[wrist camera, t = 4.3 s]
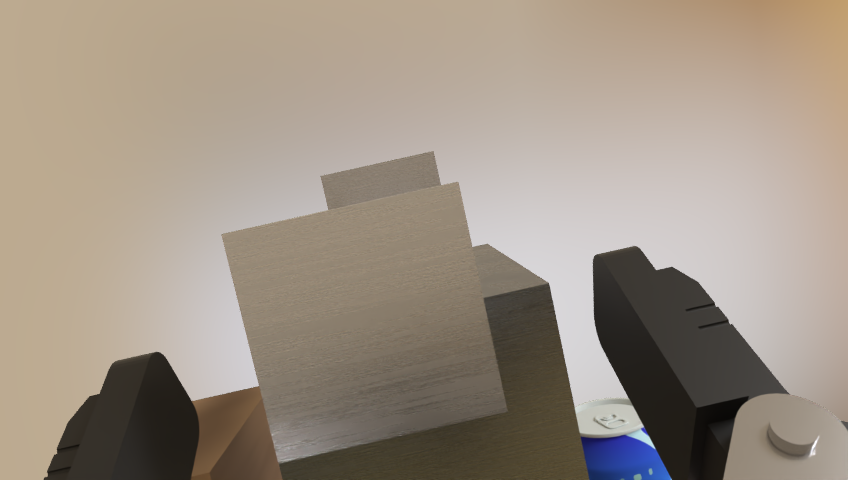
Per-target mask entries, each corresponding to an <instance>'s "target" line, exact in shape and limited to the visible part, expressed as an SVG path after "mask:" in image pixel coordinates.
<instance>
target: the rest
mask: <svg viewBox="0 0 848 480" xmlns="http://www.w3.org/2000/svg"><path fill="white" fill-rule="evenodd" d="M192 403H193V404H194V406H195V409H196V412H197V415H198V420H199V442H198V447H197V451H196V456H195V461H194V466H193V471H192V476H191V480H283V479H282V475H281V471H280V467H279V463H278V460H277V456H276V452H275V448H274V444H273V440H272V436H271V431H270V427H269V423H268V419H267V415H266V411H265V407H264V403H263V399H262V395H261V391H260V387H259V386H258V387H253V388H249V389H244V390H240V391H236V392H231V393H227V394H222V395H218V396H213V397H209V398H204V399H200V400H196V401H192Z"/></svg>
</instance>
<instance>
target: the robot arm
mask: <svg viewBox="0 0 848 480" xmlns="http://www.w3.org/2000/svg"><path fill="white" fill-rule="evenodd" d="M593 290H594V320H595V326H596V331H597V335H598V338H599V341H600V344H601V346H602V348H603V350H604V352H605V354H606V356H607V357H608V360H609V362H610V364H611V365H612V367H613V369H614V371H615V373H616V375H617V377H618V379H619V381H620V383H621V384H622V386H623V388H624V390H625V392H626V394H627V396H628V398H629V400H630V401H631V403H632V405H633V407H634V409H635V411H636V413H637V415H638V417H639V419H640V420H641V422H642V424H643V426H644V428H645V430H646V432H647V434H648V436H649V437H650V439H651V441H652V443H653V445H654V447H655V449H656V451H657V453H658V455H659V456H660V458H661V460H662V462H663V464H664V466H665V468H666V470H667V472H668V473H669V475H670V477H671V479H672V480H848V422H843V421H840V420H839V419H838V418H837V417H835V416H834V415H833V414H832V413H831V412H829V411H828V410H827V409H825V408H824V407H822V406H820V405H818V404H816V403H814V402H812V401H810V400H807V399H804V398H801V397H798V396H794V395H790V394H789V393H788V392H787V391H786V390H785V389H784V388H783V386H782V385H781V384H780V383H779V381H778V380H777V379H776V378H775V377H774V375H773V374H772V373H771V372H770V370H769V369H768V368H767V367H766V365H765V364H764V363H763V362H762V360H761V359H760V358H759V357H758V356H757V354H756V353H755V352H754V351H753V349H752V348H751V347H750V346H749V345H748V343H747V342H746V341H745V339H744V338H743V337H742V336H741V335H740V333H739V332H738V331H737V330H736V328H735V327H734V326H733V325H732V324H731V325H730V324H729V321H728V319H727V317H726V316H725V315H724V314H723V312H722V311H721V310H720V309H719V307H716V306H715V303H714V301H713V300H712V299H711V298H710V296H709V295H708V294H707V293H706V291H705V290H704V289H703V288H702V286H701V285H700V284H699V283H698V282H697V281H695V280H694V279H692V278H690V277H688V276H687V275H685V274H683V273H682V272H680V271H678V270H677V269H675V268H673V267H669V268H665V269H660V270H655V268H654V267H653V265H652V264H651V263H650V261H649V260H648V259H647V257H646V256H645V255H644V253H643V252H642V251H641V249H640V248H638V247H636V246H633V247H629V248H624V249H620V250H615V251H610V252H606V253H602V254H597V255H595V256H594V259H593ZM198 442H199V420H198V415H197V412H196V409H195V406H194V404H193V403H192V401H191V400H190V398H189V396H188V394H187V393H186V391H185V389H184V388H183V386H182V384H181V382H180V381H179V379H178V377H177V376H176V374H175V372H174V371H173V369H172V367H171V366H170V364H169V362H168V361H167V359H166V358H165V356H164V355H163V354H161V353H159V352H154V353H149V354H145V355H141V356H136V357H132V358H127V359H123V360H118V361H115V362H114V363H113V364H112V365H111V367H110V369H109V371H108V374H107V376H106V379H105V381H104V384H103V387H102V389H101V392H100V394H97V395H93V396H90V397H89V398H88V399H87V400H86V401H85V402H84V404H83V405H82V406H81V407H80V408H79V410H78V411H77V412H76V414H75V415H74V416H73V417H72V418H71V419H70V421H69V422H68V424H67V426H66V429H65V431H64V433H63V436H62V438H61V440H60V442H59V445H58V447H57V454H56V455H54V457H53V459H52V461H51V464H50V466H49V468H48V471H47V473H48V477H45V478H44V480H191V476H192V471H193V466H194V461H195V456H196V451H197V447H198Z"/></svg>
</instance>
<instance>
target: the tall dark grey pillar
mask: <svg viewBox="0 0 848 480" xmlns="http://www.w3.org/2000/svg"><path fill="white" fill-rule="evenodd" d="M472 248H473V253H474V257H475V262H476V267H477V271H478V276H479V281H480V285H481V290H482V294H483V299H484V304H485V308H486V313H487V318H488V322H489V327H490V332H491V336H492V341H493V346H494V350H495V355H496V359H497V364H498V369H499V373H500V378H501V383H502V387H503V392H504V397H505V401H506V406H507V411H508V412H504V413H500V414H495V415H491V416H486V417H482V418H477V419H473V420H469V421H464V422H460V423H455V424H451V425H446V426H442V427H438V428H433V429H429V430H424V431H420V432H415V433H411V434H407V435H402V436H398V437H393V438H389V439H384V440H380V441H376V442H371V443H367V444H362V445H358V446H353V447H349V448H345V449H340V450H336V451H331V452H327V453H322V454H318V455H314V456H309V457H305V458H300V459H296V460H291V461H287V462H283V463H279V467H280V471H281V475H282V479H283V480H589V475H588V470H587V465H586V461H585V456H584V451H583V446H582V441H581V436H580V431H579V427H578V422H577V417H576V412H575V407H574V403H573V397H572V393H571V388H570V383H569V378H568V373H567V368H566V364H565V359H564V354H563V349H562V344H561V339H560V335H559V330H558V325H557V320H556V315H555V310H554V305H553V300H552V296H551V291H550V286H549V283H548V282H546V281H545V280H543V279H542V278H540V277H538V276H537V275H535V274H534V273H532V272H531V271H529V270H527V269H526V268H524V267H523V266H521V265H520V264H518V263H517V262H515V261H513V260H512V259H510V258H509V257H507V256H506V255H504V254H502V253H501V252H499V251H498V250H496V249H495V248H493V247H492V246H490V245H488V244H485V245H480V246H475V247H472Z"/></svg>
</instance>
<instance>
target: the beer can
mask: <svg viewBox="0 0 848 480" xmlns="http://www.w3.org/2000/svg"><path fill="white" fill-rule="evenodd" d="M575 412H576V417H577V422H578V427H579V431H580V436H581V441H582V446H583V451H584V456H585V461H586V465H587V470H588V475H589V480H672V479H671V477H670V475H669V473H668V472H667V470H666V468H665V466H664V464H663V462H662V460H661V458H660V456H659V455H658V453H657V451H656V449H655V447H654V445H653V443H652V441H651V439H650V437H649V436H648V434H647V432H646V430H645V428H644V426H643V424H642V422H641V420H640V419H639V417H638V415H637V413H636V411H635V409H634V407H633V405H632V403H631V401H630V400H629V399H628V398H607V399H599V400H594V401H590V402H586V403H583V404H581V405H578V406H576V407H575Z"/></svg>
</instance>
